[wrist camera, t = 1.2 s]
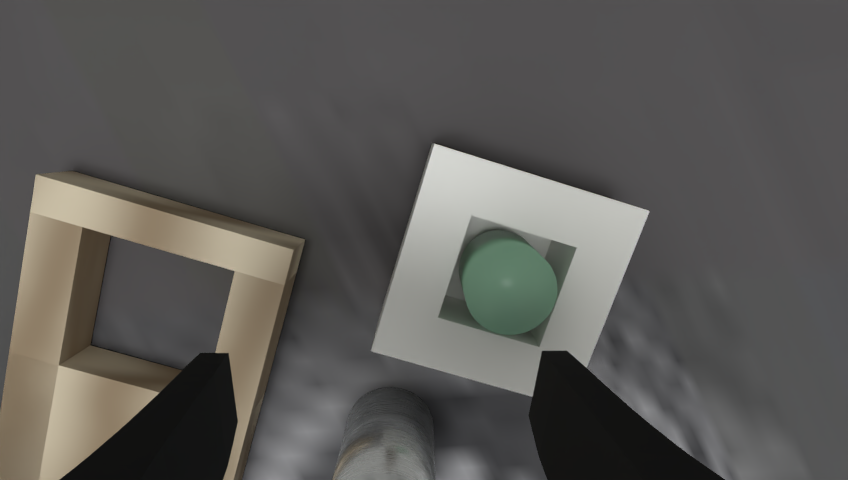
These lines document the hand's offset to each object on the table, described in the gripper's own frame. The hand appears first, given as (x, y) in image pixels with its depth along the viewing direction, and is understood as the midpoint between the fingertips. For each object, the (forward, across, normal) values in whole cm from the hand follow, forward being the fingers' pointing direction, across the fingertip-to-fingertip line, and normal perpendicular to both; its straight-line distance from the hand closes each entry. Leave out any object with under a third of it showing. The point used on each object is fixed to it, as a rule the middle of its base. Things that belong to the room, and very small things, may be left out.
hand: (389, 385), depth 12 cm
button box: (+10, -5, +2) cm, 11 cm away
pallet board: (+9, +11, +10) cm, 17 cm away
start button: (+8, -5, +1) cm, 10 cm away
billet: (+8, -1, +10) cm, 13 cm away
